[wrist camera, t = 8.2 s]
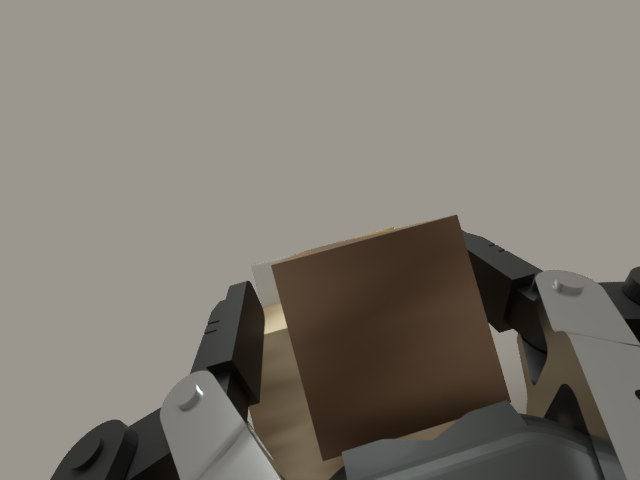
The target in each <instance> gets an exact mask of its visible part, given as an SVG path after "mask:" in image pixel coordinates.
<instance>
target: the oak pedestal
mask: <svg viewBox="0 0 640 480" xmlns="http://www.w3.org/2000/svg"><path fill="white" fill-rule="evenodd" d="M263 311H264V316H265V330H264V345H263V361H262V377H261V392H260V403H258V404H255V405H252V406H249V410H250V414H251V418H252V422H253V426H254V430H255V432H256V434H257V435H258V437H259V438H260V440H261V441H262V443H263V444H264V445H265V447H266V448H267V450H268V451H269V453H270V454H271V456H272V457H273V459H274V460H275V462H276V463H277V465H278V466H279V467H280V469H281V470H282V472H283V473H284V475H285V476H286V477H287V479H288V480H329V479H330V478H331V477H332V476H333V475H334V474H335V473H336V472H337V471H338V470H339V469H340V468H342V467H343V466H344V461H343V456H339V457H336V458H333V459H330V460H326V461H323V460H322V457H321V453H320V449H319V445H318V442H317V438H316V434H315V430H314V426H313V423H312V419H311V415H310V411H309V408H308V404H307V400H306V396H305V392H304V389H303V385H302V381H301V377H300V373H299V370H298V366H297V362H296V358H295V355H294V351H293V347H292V343H291V339H290V336H289V332H288V328H287V324H286V321H285V317H284V313H283V309H282V305H281V303H277V304H274V305H270V306H267V307H263ZM458 420H459V419H457V420H454V421H451V422H448V423H444V424H441V425H438V426H435V427H432V428H428V429H425V430H422V431H419V432H416V433H413V434H409V435H406V436H403V437H400V438H397V439H407V440H432V439H435V438H436V437H438V436H439V435H440V434H441V433H443V432H444V431H445V430H446V429H448V428H449V427H450V426H451V425H453V424H454V423H455V422H456V421H458Z"/></svg>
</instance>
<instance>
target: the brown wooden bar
mask: <svg viewBox="0 0 640 480" xmlns="http://www.w3.org/2000/svg"><path fill="white" fill-rule="evenodd" d="M271 268H272V271H273V275H274V279H275V283H276V287H277V290H278V294H279V298H280V302H281V305H282V309H283V313H284V317H285V321H286V324H287V328H288V332H289V336H290V339H291V343H292V347H293V351H294V355H295V358H296V362H297V366H298V370H299V373H300V377H301V381H302V385H303V389H304V392H305V396H306V400H307V404H308V408H309V411H310V415H311V419H312V423H313V426H314V430H315V434H316V438H317V442H318V445H319V449H320V453H321V457H322V460H323V461H326V460H330V459H333V458H336V457H339V456H342V452H343V451H346V450H350V449H353V448H356V447H359V446H362V445H366V444H369V443H372V442H375V441H378V440H382V439H397V438H400V437H403V436H406V435H409V434H413V433H416V432H419V431H422V430H425V429H428V428H432V427H435V426H438V425H441V424H444V423H448V422H451V421H454V420H457V419H460V418H461V417H463V416H464V415H465V414H466V413H468V412H471V411H474V410H477V409H481V408H484V407H487V406H490V405H493V404H497V403H500V402H503V401H506V400H508V402H509V403H511V400H510V397H509V394H508V390H507V387H506V383H505V380H504V376H503V373H502V369H501V366H500V362H499V359H498V355H497V352H496V349H495V345H494V341H493V338H492V334H491V331H490V328H489V324H488V321H487V317H486V314H485V310H484V307H483V303H482V300H481V296H480V293H479V289H478V286H477V282H476V279H475V275H474V272H473V268H472V265H471V262H470V258H469V255H468V251H467V248H466V244H465V241H464V237H463V234H462V230H461V227H460V223H459V220H458V216H457V215H454V216H449V217H445V218H441V219H436V220H432V221H428V222H424V223H419V224H415V225H411V226H406V227H402V228H398V229H393V230H389V231H384V232H380V233H376V234H372V235H367V236H363V237H359V238H354V239H350V240H346V241H341V242H337V243H333V244H330V245H326V246H322V247H319V248H316V249H311V250H308V251H304V252H302V253H299V254H297V255H295V256H292V257H290V258H287V259H285V260H283V261H280V262H278V263H275V264H273V265H271Z"/></svg>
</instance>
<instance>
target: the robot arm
mask: <svg viewBox="0 0 640 480" xmlns="http://www.w3.org/2000/svg"><path fill="white" fill-rule="evenodd" d="M462 234H463V237H464V241H465V244H466V248H467V251H468V255H469V258H470V262H471V265H472V268H473V272H474V275H475V279H476V282H477V286H478V289H479V293H480V296H481V300H482V303H483V307H484V310H485V314H486V317H487V321H488V323H490V324H491V325H492V326H493V327H494V328H495V329H496V330H497V331H498V332H499V333H500V332H504V331H507V330H510V329H515V330H516V331H517V332H518V336H517V343H518V348H519V353H520V358H521V363H522V368H523V373H524V378H525V383H526V388H527V398H528V399H527V414H518V413H517V411H516V410H515V409H514V408H513V406H512V405H511V404H510V403H509V402H508V400H506V401H503V402H500V403H497V404H493V405H490V406H487V407H484V408H481V409H477V410H474V411H471V412H468V413H466V414H465V415H464V416H463V417H461V418H460V419H459V420H458V421H456V422H455V423H454V424H453V425H451V426H450V427H449V428H448V429H446V430H445V431H444V432H443V433H441V434H440V435H439V436H438V437H436V438H435V439H432V440H407V439H382V440H378V441H375V442H372V443H369V444H366V445H362V446H359V447H356V448H353V449H350V450H346V451H343V452H342V456H343V461H344V466H343V467H342V468H340V469H339V470H338V471H337V472H336V473H335V474H334V475H333V476H332V477H331V478H330V479H329V480H640V267H637V268H634V269H632V270H631V271H630V273H629V275H628V277H627V279H626V280H625V282H606V283H605V282H603V283H597V282H595V281H593V280H592V279H589V278H587V277H585V276H583V275H580V274H576V273H573V272H568V271H561V270H549V271H542V270H540V269H539V268H537V267H535V266H533V265H531V264H530V263H528V262H526V261H524V260H522V259H521V258H519V257H517V256H515V255H514V254H512V253H510V252H508V251H505V250H504V249H502V248H501V247H499V246H498V245H495V244H494V243H492V242H490V241H489V240H487V239H485V238H483V237H480V236H477V235H473V234H470V233H466V232H464V231H463V230H462ZM264 330H265V316H264V311H263V308H262V305H261V303H260V301H259V299H258V297H257V295H256V292H255V290H254V288H253V286H252V284H251V283H250V281H246V282H242V283H239V284H235V285H232V286H230V287H229V290H228V293H227V297H226V300H223V301H220V302H219V303H218V304H217V306H216V307H215V308H214V310H213V311H212V312H211V315H210V318H209V321H208V326H207V327H206V329H205V332H204V334H205V335H204V336H203V338H202V341H201V344H200V347H199V349H198V352H197V355H196V358H195V361H194V364H193V366H192V370H191V373H190V375H188V376H186V377H185V378H183V379H182V380H181V381H180V382H178V383H177V384H176V385H175V386H174V387H173V388H172V390H171V391H170V392H169V394H168V395H167V397H166V398H165V400H164V402H163V404H162V407H161V408H159V409H157V410H156V411H154V412H153V413H151V414H149V415H147V416H146V417H144V418H143V419H141V420H139V421H137V422H136V423H134V424H133V425H131V426H129V427H128V426H127V425H125V424H124V423H123V422H121V421H120V420H110V421H107V422H105V423H102V424H100V425H99V426H97V427H95V428H94V429H92V430H91V431H90V432H88V433H87V434H86V435H85V436H84V437H83V438H81V439H80V440H79V441H78V442H77V443H76V444H75V445H74V446H73V447H72V448H71V450H70V451H69V452H68V453H67V454H66V456H65V457H64V458H63V460H62V461H61V463H60V464H59V466H58V468H57V469H56V471H55V473H54V474H53V476H52V478H51V479H50V480H288V479H287V477H286V476H285V475H284V473H283V472H282V470H281V469H280V467H279V466H278V465H277V463H276V462H275V460H274V459H273V457H272V456H271V454H270V453H269V451H268V450H267V448H266V447H265V445H264V444H263V443H262V441H261V440H260V438H259V437H258V435H257V434H256V432H255V431H254V429H253V428H252V426H251V425H250V424H249V422H248V421H247V417H248V407H249V406H252V405H255V404H258V403H260V392H261V377H262V361H263V345H264Z"/></svg>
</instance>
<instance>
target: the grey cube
mask: <svg viewBox="0 0 640 480" xmlns="http://www.w3.org/2000/svg"><path fill="white" fill-rule="evenodd" d="M295 255H296V254H293V255H289V256H286V257H282V258H278V259H275V260H271V261H267V262H264V263H260V264H257V265H253V266H251V267H252V271H253V275H254V278H255V282H256V286H257V290H258V294H259V297H260V301H261V305H262V308H263V307H267V306H270V305H274V304H277V303H281V302H280V298H279V294H278V290H277V287H276V283H275V279H274V275H273V271H272V268H271V265H273V264H275V263H278V262H280V261H283V260H285V259H287V258H290V257H292V256H295Z"/></svg>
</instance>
